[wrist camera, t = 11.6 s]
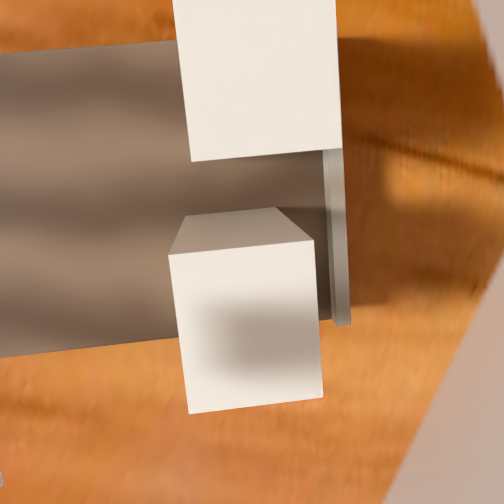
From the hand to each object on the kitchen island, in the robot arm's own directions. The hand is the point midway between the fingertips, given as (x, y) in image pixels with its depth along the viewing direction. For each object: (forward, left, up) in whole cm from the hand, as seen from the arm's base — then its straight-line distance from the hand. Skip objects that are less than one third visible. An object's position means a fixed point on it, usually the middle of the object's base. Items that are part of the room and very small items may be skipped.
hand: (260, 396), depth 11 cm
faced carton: (-9, +1, -15) cm, 17 cm away
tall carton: (0, 0, -15) cm, 15 cm away
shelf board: (-4, -5, -17) cm, 18 cm away
